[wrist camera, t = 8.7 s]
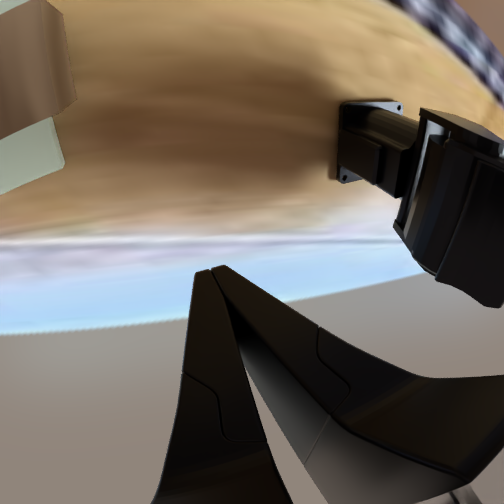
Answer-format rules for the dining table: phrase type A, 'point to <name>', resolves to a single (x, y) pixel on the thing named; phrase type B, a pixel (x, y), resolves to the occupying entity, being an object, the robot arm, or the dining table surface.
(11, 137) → the mat
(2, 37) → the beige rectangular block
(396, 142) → the robot arm
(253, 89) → the dining table surface
